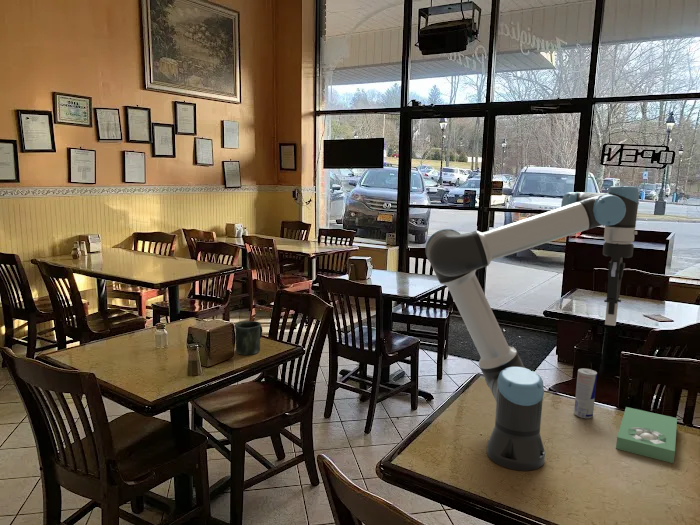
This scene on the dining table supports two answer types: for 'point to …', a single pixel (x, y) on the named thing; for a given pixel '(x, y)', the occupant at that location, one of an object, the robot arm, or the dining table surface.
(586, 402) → the beverage can
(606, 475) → the dining table surface
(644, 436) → the ball
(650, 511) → the dining table surface
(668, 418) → the green
